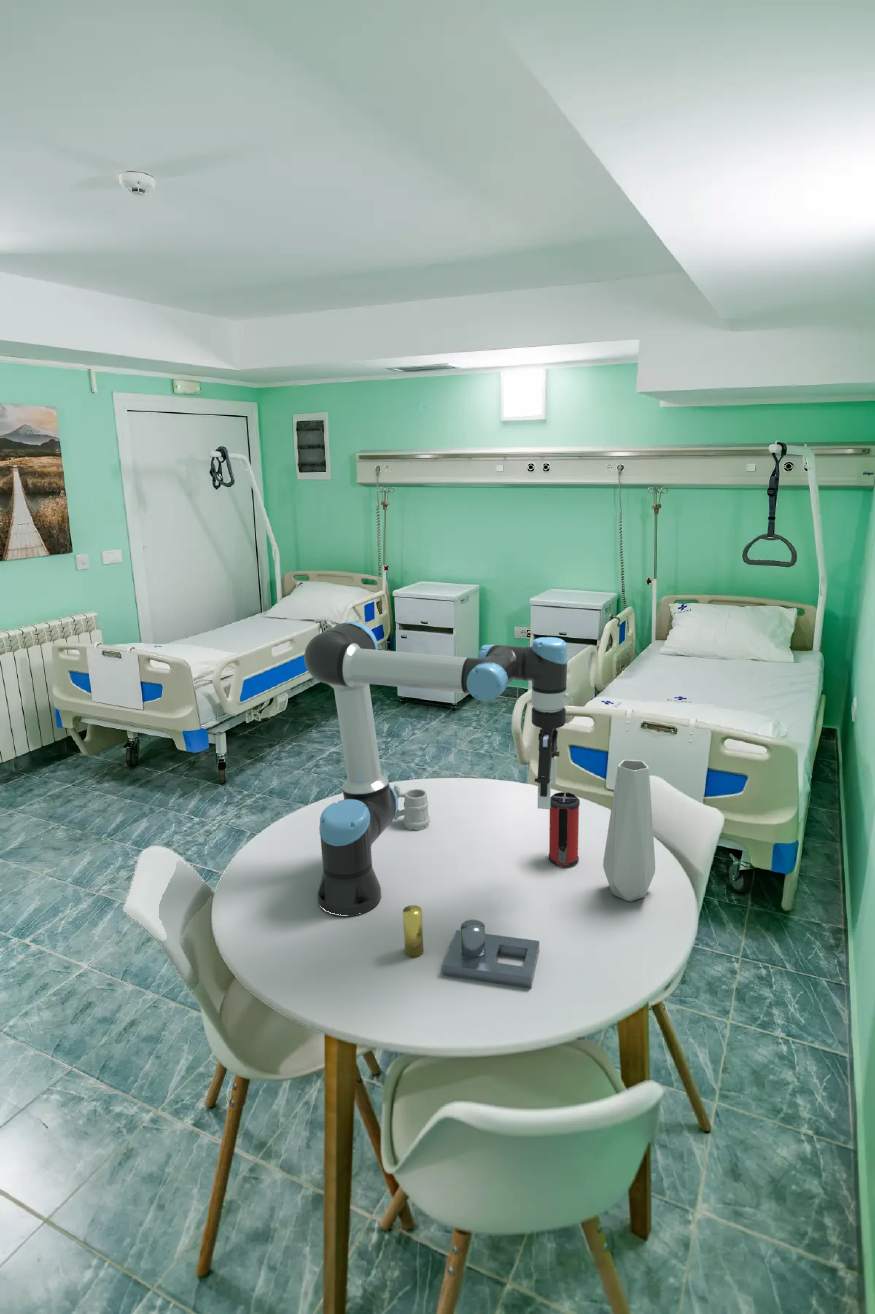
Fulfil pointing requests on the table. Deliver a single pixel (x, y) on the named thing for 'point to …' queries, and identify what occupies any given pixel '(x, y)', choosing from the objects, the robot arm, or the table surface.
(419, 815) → the mug
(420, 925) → the round pin
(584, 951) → the table surface
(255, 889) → the table surface
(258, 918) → the table surface
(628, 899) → the vase
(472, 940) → the gray peg plate
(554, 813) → the speaker
